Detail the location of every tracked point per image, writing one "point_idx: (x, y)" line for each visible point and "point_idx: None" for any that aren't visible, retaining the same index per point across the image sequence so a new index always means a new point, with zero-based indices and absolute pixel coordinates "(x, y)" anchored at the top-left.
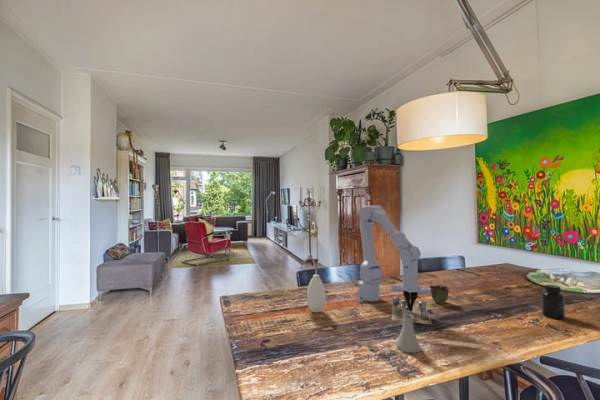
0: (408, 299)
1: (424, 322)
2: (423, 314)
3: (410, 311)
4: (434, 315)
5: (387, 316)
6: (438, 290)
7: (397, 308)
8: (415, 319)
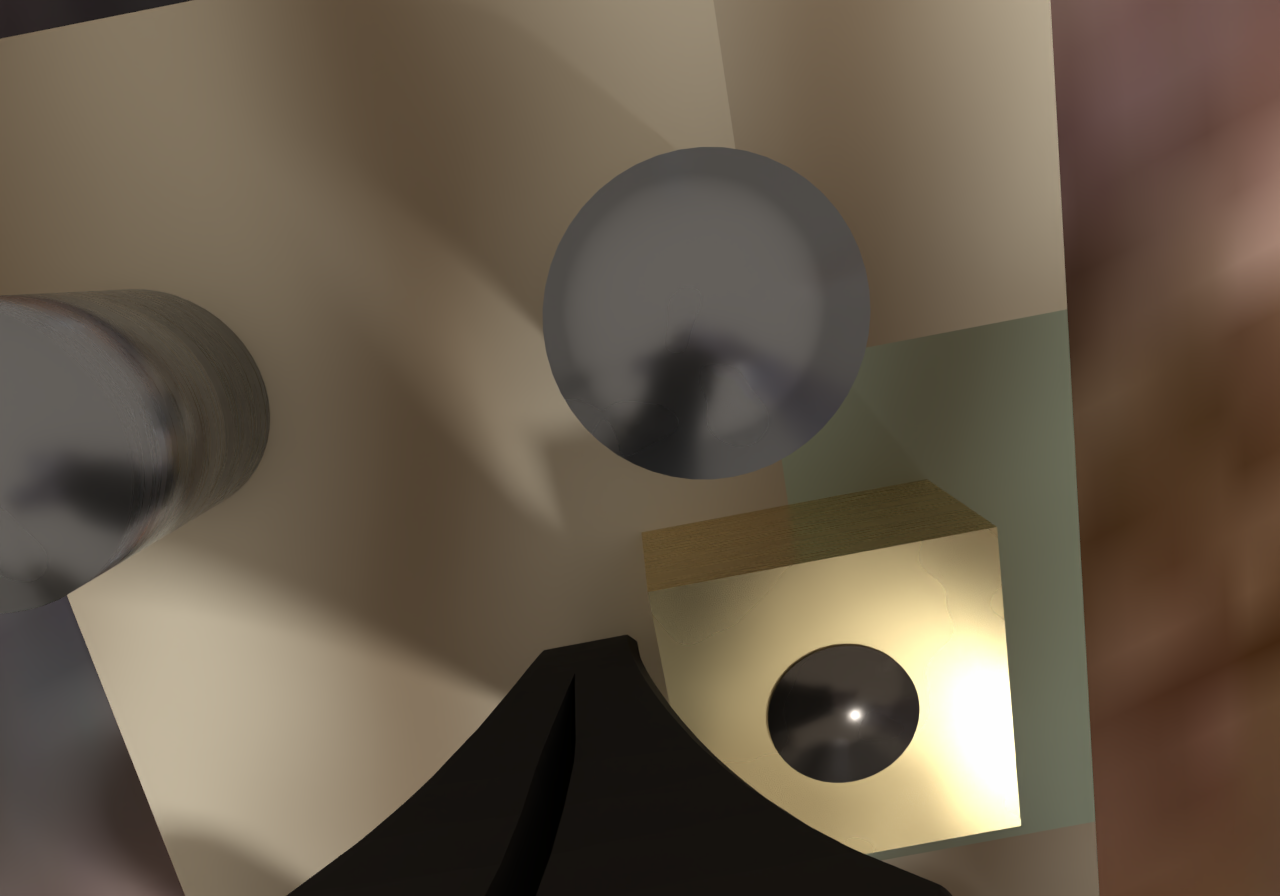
0: (634, 844)
1: (93, 106)
2: (47, 302)
3: None
4: (103, 887)
5: (1131, 296)
6: None
7: (979, 518)
8: (377, 220)
